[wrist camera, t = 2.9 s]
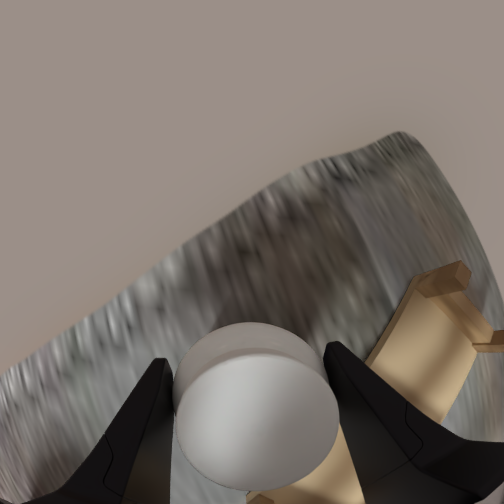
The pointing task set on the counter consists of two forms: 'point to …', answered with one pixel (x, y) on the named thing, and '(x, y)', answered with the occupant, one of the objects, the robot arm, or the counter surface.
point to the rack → (407, 373)
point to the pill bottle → (254, 407)
